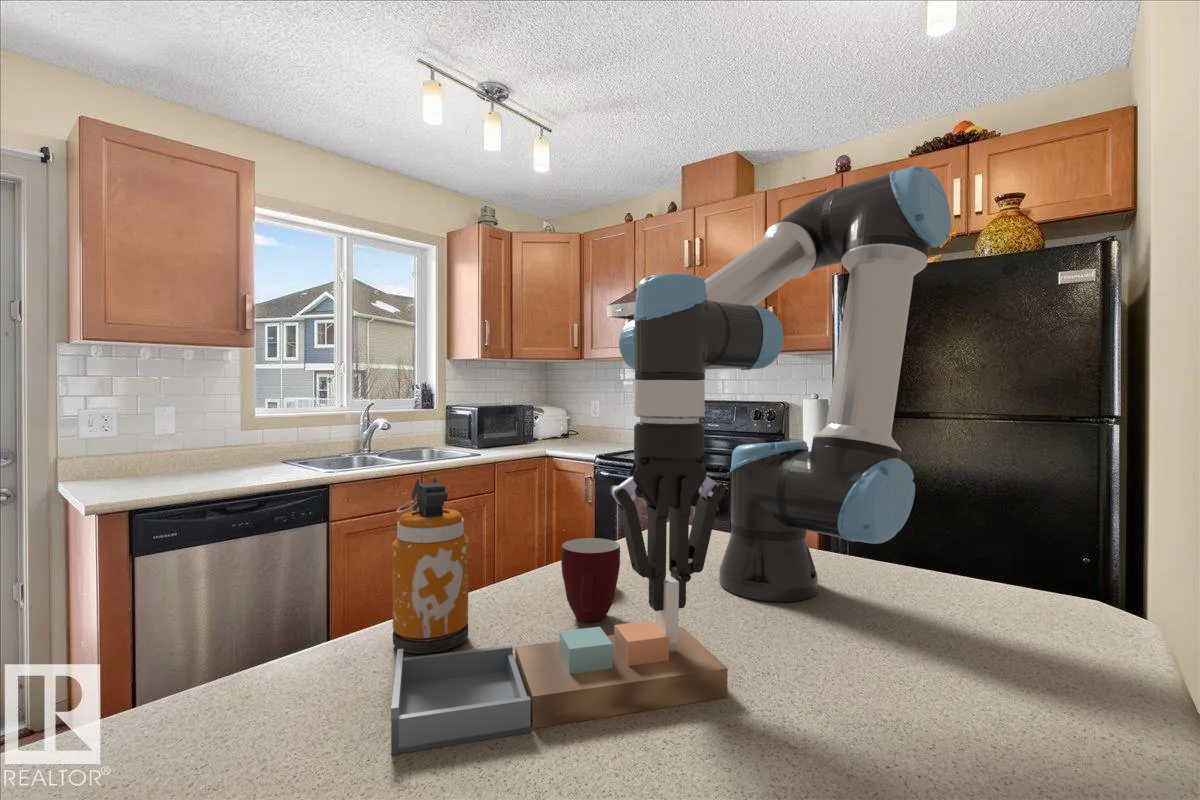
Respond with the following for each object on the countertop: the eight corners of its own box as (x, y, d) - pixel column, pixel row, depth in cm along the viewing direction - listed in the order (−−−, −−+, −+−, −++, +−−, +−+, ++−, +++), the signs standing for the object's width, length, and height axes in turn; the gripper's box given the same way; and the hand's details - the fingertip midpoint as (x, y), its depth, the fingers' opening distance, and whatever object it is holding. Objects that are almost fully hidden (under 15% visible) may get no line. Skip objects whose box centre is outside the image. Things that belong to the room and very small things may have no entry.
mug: (624, 636, 75) (624, 558, 75) (560, 638, 74) (561, 559, 74) (617, 606, 86) (617, 537, 85) (561, 607, 85) (561, 538, 85)
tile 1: (600, 649, 64) (600, 626, 64) (612, 668, 60) (612, 643, 60) (559, 654, 63) (559, 631, 63) (569, 674, 59) (569, 649, 59)
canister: (399, 665, 67) (398, 489, 67) (385, 629, 77) (385, 476, 77) (476, 649, 71) (476, 483, 71) (454, 617, 81) (454, 472, 81)
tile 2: (652, 642, 66) (652, 620, 66) (668, 660, 62) (668, 636, 62) (614, 647, 65) (614, 625, 65) (628, 666, 61) (628, 641, 60)
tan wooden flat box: (682, 651, 71) (682, 626, 71) (727, 697, 60) (727, 668, 60) (515, 673, 65) (515, 646, 65) (532, 728, 55) (532, 696, 54)
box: (511, 671, 65) (511, 636, 65) (530, 732, 54) (530, 688, 54) (397, 687, 62) (397, 649, 62) (391, 754, 51) (391, 708, 50)
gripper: (707, 418, 69) (705, 619, 70) (601, 419, 65) (599, 631, 66) (740, 422, 62) (738, 645, 62) (623, 422, 58) (621, 660, 59)
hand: (666, 638), depth 64 cm, fingers closed
